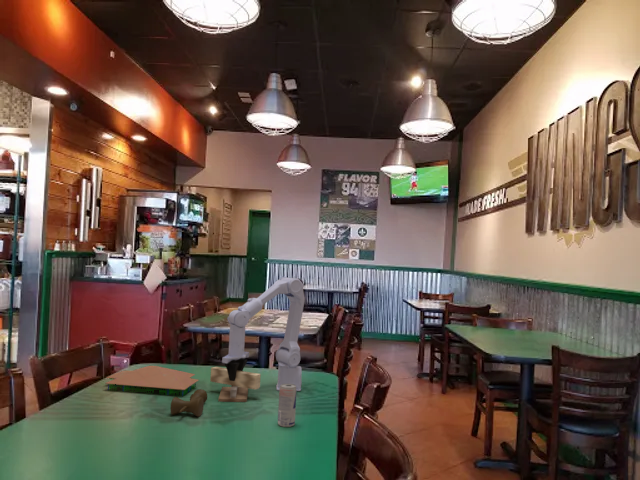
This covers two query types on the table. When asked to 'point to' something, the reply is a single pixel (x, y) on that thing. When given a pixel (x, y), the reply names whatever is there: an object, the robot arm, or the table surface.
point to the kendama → (190, 403)
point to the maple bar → (241, 378)
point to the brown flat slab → (154, 379)
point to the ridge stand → (233, 394)
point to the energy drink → (287, 405)
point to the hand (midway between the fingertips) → (234, 379)
